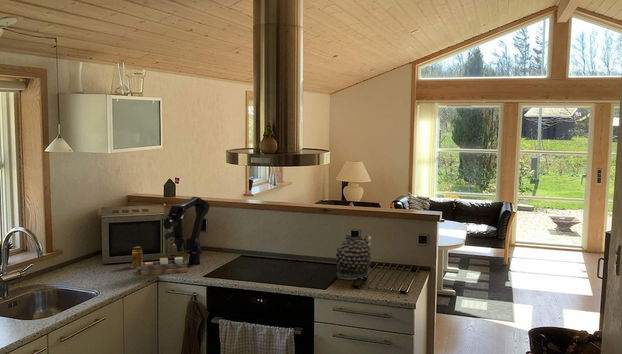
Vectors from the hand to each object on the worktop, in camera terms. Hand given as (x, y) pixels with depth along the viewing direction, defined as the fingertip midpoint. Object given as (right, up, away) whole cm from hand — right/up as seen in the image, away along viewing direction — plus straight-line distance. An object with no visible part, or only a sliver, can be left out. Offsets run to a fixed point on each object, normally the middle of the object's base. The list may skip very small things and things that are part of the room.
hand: (178, 252), depth 345 cm
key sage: (0, -6, +1) cm, 6 cm away
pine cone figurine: (+102, -13, -11) cm, 104 cm away
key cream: (-8, -7, -2) cm, 11 cm away
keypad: (-8, -11, -2) cm, 13 cm away
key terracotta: (-16, -9, -4) cm, 19 cm away
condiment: (-26, -10, +7) cm, 28 cm away
